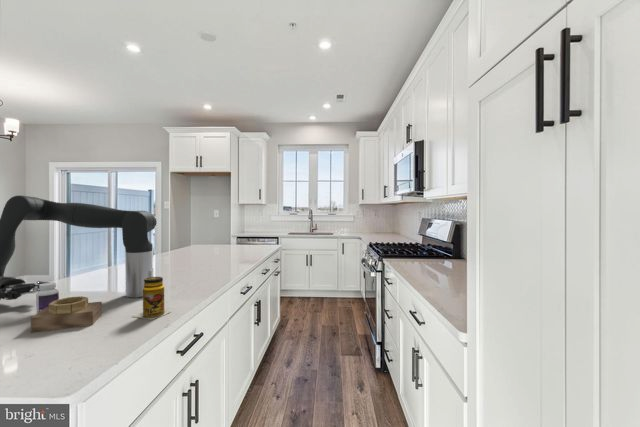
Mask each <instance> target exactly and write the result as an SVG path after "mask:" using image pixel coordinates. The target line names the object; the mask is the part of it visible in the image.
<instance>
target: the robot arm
mask: <svg viewBox="0 0 640 427" xmlns="http://www.w3.org/2000/svg"><path fill="white" fill-rule="evenodd" d="M23 221H55V222H60V223H64V224H66V225H69V226H74V227H80V228H90V229H117V228H118V229H121V234H122V244H123V246H124V250H125V256H124V258H125V265H124V266H125V297H127V298H143V288H144V280H145V279H146V278H149V277H154V267H153V263H154V262H153V260H154V259H153V256H154V255H153V250H154V249H153V243H152V242H150V241H149V235H148V234H149V233H150V232H151V231H153V230H154V229H155V228H156V227H157V218H156V217H155V215H154V214H153V213H152V212H149V211H148V210H147V211H146V210H123V209H117V208H112V207H108V206H103V205H97V204H93V203H92V204H90V203H83V202H56V201H52V200H47V199H45V198H39V197H36V196H27V195H15V196H12V197H10V198H9V199H8V200H7V201H6V203H5V204H4V207H3V210H2V213H1V215H0V300H8V301H12V300H17V299H18V298H20V297H21V296H23V295H27V294H28V295H29V294H35V293H36V294H37V292H39V291H40V289H39V285H40V284H43V283H51V282H48V281H40V280H38V281H36V282H25V280H24V279H22V278H20V277H15V276H7V275H5V271H6V269H7V266H8V264H9V262H10V261H11V259H12V256H13V255H14V253H15V249H16V232H17V230H18V227H19V226H20V225H21V224H22V222H23ZM4 275H5V276H4Z"/></svg>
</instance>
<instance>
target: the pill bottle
mask: <svg viewBox="0 0 640 427" xmlns="http://www.w3.org/2000/svg"><path fill="white" fill-rule="evenodd" d="M39 289H40V291H39V292H36V296H35V297H36V299H35V300H36V314H37V313H39V312H40V311H42V310H43V309H44V308H46V307H49V304H50V303H51V302H53V301H55V300H59V299H60V297H59V296H60V292H59V289H57V283H56V282H52V281H51V282H50V283H43V284H40V285H39ZM39 289H38V290H39Z"/></svg>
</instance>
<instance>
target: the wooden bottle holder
mask: <svg viewBox="0 0 640 427" xmlns="http://www.w3.org/2000/svg"><path fill="white" fill-rule="evenodd" d="M102 302H103V301H93V302H89V297H87V296H81V295H80V296H70V297H69V296H68V297H64V298H59V300H55V301H53V302H51V303H50V304H49V307H46V308H44V309H43V310H42V311H40V312H39V313H37V312H36V314H35V315H33V316H32V317H30V333H37V332H45V331H53V330H54V331H55V330H62V329H69V328H77V327H86V326H94V325H95V323H96V322H97V320H98V319H99V318H100V316H102V314H103V303H102Z"/></svg>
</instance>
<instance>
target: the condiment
mask: <svg viewBox="0 0 640 427" xmlns="http://www.w3.org/2000/svg"><path fill="white" fill-rule="evenodd" d="M163 278H164V277H161V276H153V277H149V278H146V279H145V280H144V288H143V297H142V312H141V313H138V314H135V315H132V317H134V318H141V319H143V320H150V321H153V320H155V319H157V318H160V317H162V316H165V315H167V314H169V313H170V311H168V310H167V311H166V310H165V285H164V279H163Z"/></svg>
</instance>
